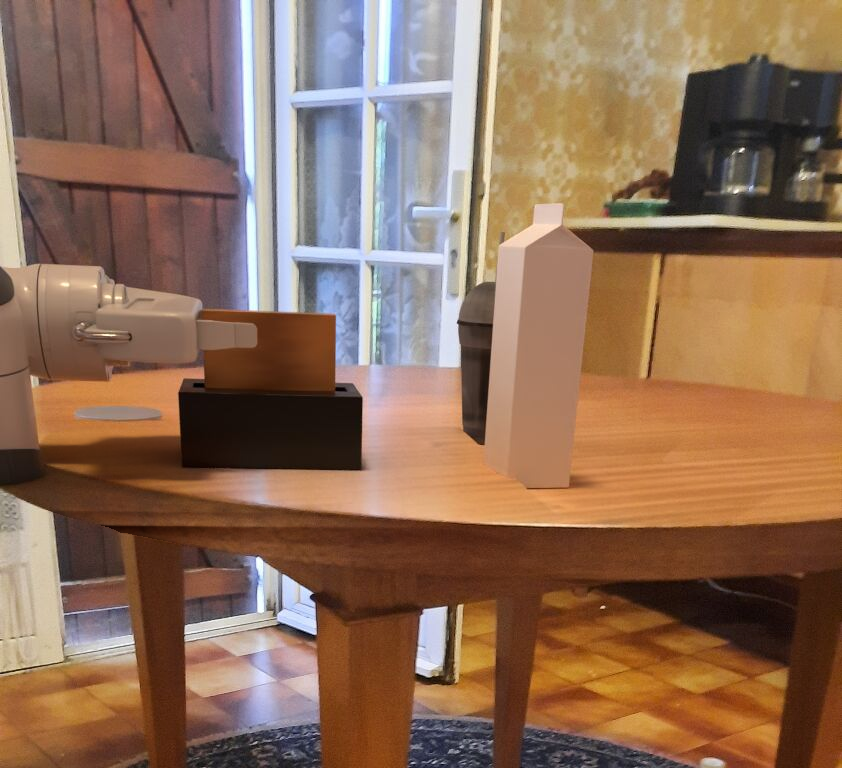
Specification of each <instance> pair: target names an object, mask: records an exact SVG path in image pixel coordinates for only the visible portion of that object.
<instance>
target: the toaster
mask: <svg viewBox="0 0 842 768" xmlns="http://www.w3.org/2000/svg"><path fill="white" fill-rule="evenodd" d="M177 396H178V399H177V400H178V417H179V420H178V421H179V439H180V457H181V469H222V470H223V469H224V470H225V469H227V470H228V469H230V470H231V469H232V470H283V471H284V470H287V471H288V470H291V471H347V472H348V471H349V472H350V471H352V472H354V471H355V472H356V471H357V472H362V454H363V411H364V410H363V407H364V397H363V395H362V394H361V393H360V392H359V390H358V389H357V387H356V385H355V384H354V383H353V382H335V391H301V390H264V389H227V388H205V381H204V378H188V377H187V378H185V377H184V378H183V379H182V382H181V385H180V386H179V390H178V392H177Z"/></svg>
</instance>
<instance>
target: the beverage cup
mask: <svg viewBox="0 0 842 768" xmlns="http://www.w3.org/2000/svg"><path fill="white" fill-rule="evenodd" d="M505 236H506V232H504V231H500V232H499V237H498V238H499V240H498V246H499V245H500V244H502V243H504V242H505ZM497 262H498V257H497V259H496V263H497ZM495 268H496V269H495V276H494V281H483V282H481V283H479V284H477V285H475V286H474V287H473V288H472V289H470V290H469V291H468V293H467V295H465V297H464V299H463V300H462V303H461V306H460V309H459V312H458V318H457V321H456V325H458V327H457V335H458V342H459V345H460V371H461V372H460V374H461V375H460V378H461V380H460V381H461V423H462V424H461V425H462V431H463V432H464V433H465V434H466V435H467V436H468V437H469V438H471V439H472V440H473V441H474V442H475V443H476V444H477V445H484V446H485V434H486V419H487V405H488V391H489V376H490V362H491V348H492V334H493V319H494V305H495V291H496V277H497V266H496V267H495Z"/></svg>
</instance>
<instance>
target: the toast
mask: <svg viewBox="0 0 842 768" xmlns="http://www.w3.org/2000/svg"><path fill="white" fill-rule="evenodd" d="M202 320H212V321H221V322H232V323H234V322H244V323H253V324H255V325H256V327H257V345H256V347H254V348H228V349H219V350H202V352H203V353H202V354H203V355H202V356H203V376H204V378H203V379H204V381H205V388H227V389H264V390H301V391H335V383H336V370H337V369H336V367H337V366H336V363H337V362H336V361H337V359H336V357H337V315H336V314H335V313H330V312H328V313H327V312H306V311H305V312H302V311H278V310H254V309H253V310H252V309H250V310H249V309H225V308H202Z"/></svg>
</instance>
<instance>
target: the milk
mask: <svg viewBox="0 0 842 768" xmlns="http://www.w3.org/2000/svg"><path fill="white" fill-rule="evenodd" d="M564 215H565V205H564V202H563V203H562V202H560V203H559V202H558V203H557V202H556V203H536V204H535V205H534V209H533V217H532V224H531V225H530V226H528V227H526V228H525V229H523V230H522V231H520V232H518V233H517V234H515V235H514V236H512V237H510V238H508V239H507V240H504V243H502V244H500V245H499V244H498V250H497V258H498V262H497V261H496V267H497V277H496V276H495V277H496V291H495V305H494V319H493V334H492V348H491V362H490V376H489V391H488V405H487V419H486V434H485V445H484V450H483V461H482V463H483V466H484V467H487V468H488V469H490V470H491V471H494V472H495V473H497V474H498V475H501V476H502V477H503V478H506V479H516V480H517V481H518V482H519V483H520V484H521V485H522V486H523V487H524V488H525V489H560V488H563V489H564V488H565V489H567V488H569V487H570V481H571V480H570V479H571V469H572V461H573V460H572V459H573V450H574V442H575V432H576V431H575V430H576V421H577V413H578V401H579V394H580V393H579V392H580V385H581V384H580V383H581V374H582V364H583V355H584V347H585V336H586V327H587V317H588V306H589V297H590V289H591V279H592V271H593V270H592V268H593V259H594V249H593V248H591V247H590V246H589V245H588V244H587V243H586V242H584V241H583V240H582V239H580V238H579V237H578V236H577V235H576V234H575V233H573V232H572V231H571V230H569V228H567V227H566V226H565V225H564Z"/></svg>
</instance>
